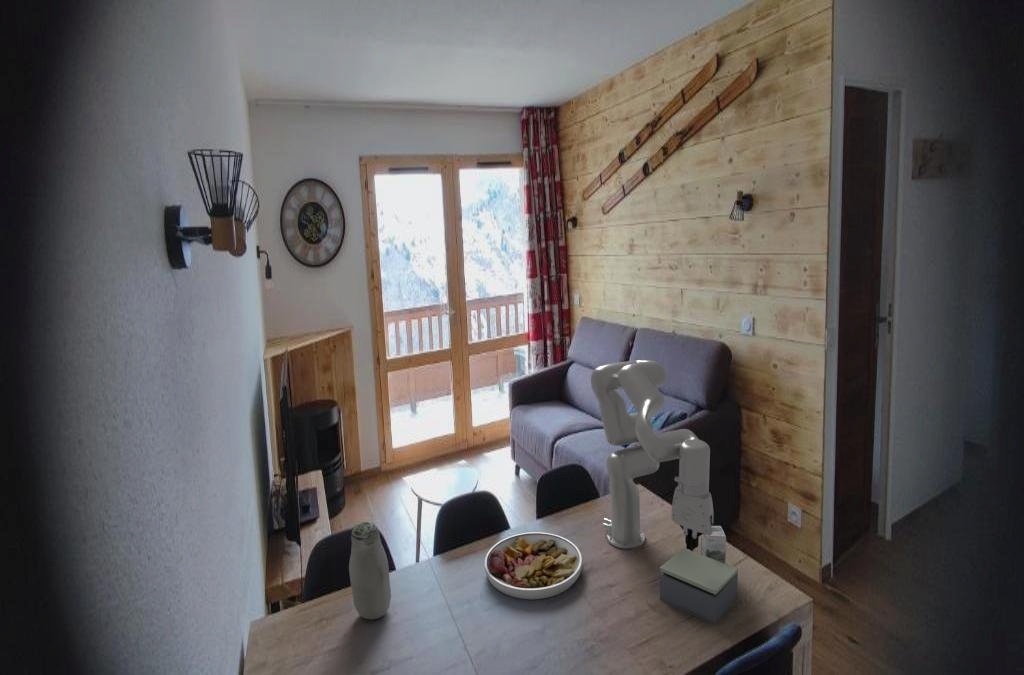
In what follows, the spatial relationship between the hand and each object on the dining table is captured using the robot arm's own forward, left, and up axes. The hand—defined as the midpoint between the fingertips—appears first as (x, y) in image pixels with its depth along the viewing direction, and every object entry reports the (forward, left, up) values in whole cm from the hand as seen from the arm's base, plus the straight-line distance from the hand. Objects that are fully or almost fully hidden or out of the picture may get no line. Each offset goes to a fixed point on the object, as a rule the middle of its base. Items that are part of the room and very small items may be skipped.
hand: (691, 547), depth 149 cm
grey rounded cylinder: (-65, -60, -17) cm, 90 cm away
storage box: (+1, +3, -17) cm, 17 cm away
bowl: (-43, -17, -18) cm, 50 cm away
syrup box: (-1, +16, -17) cm, 23 cm away
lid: (+1, +3, -8) cm, 9 cm away
